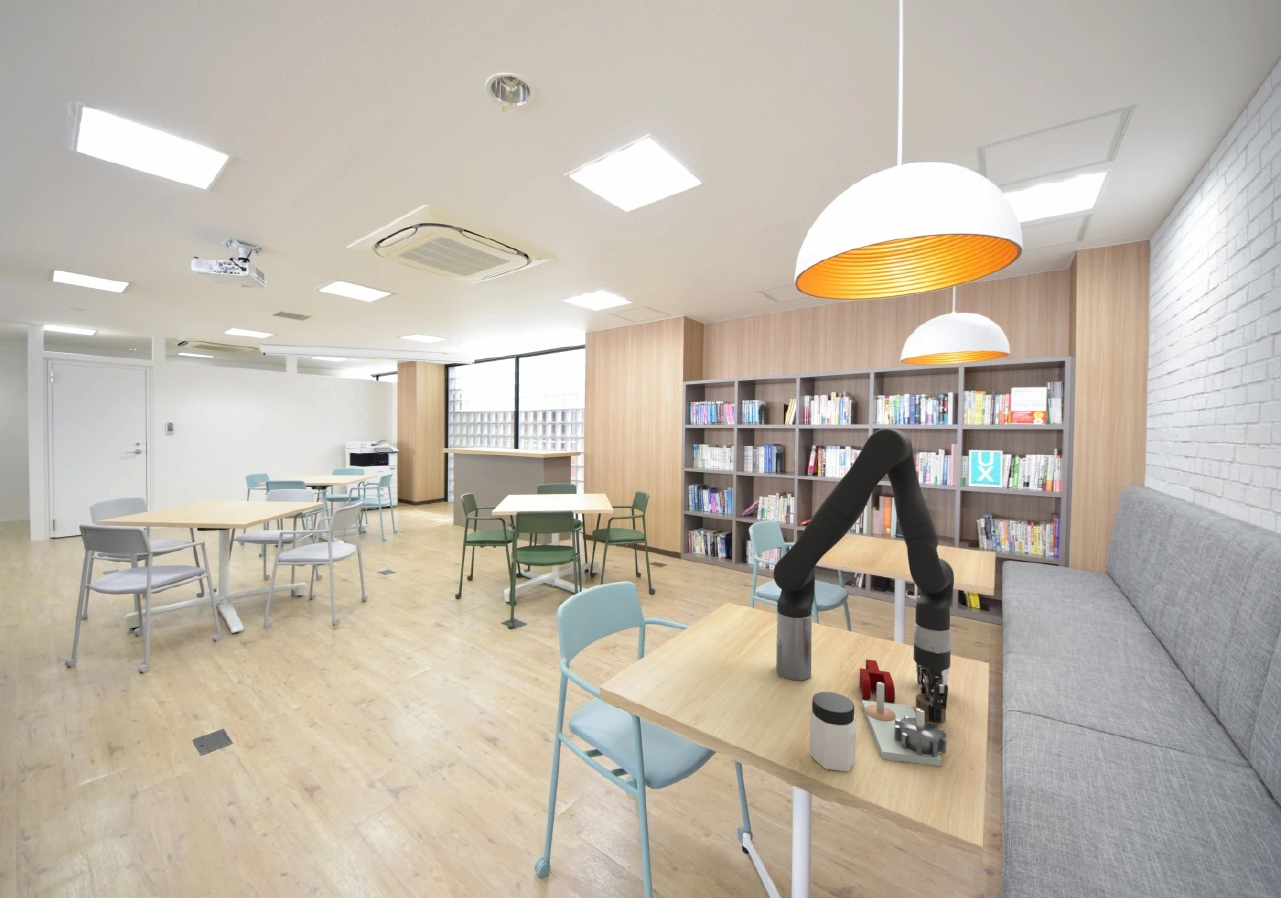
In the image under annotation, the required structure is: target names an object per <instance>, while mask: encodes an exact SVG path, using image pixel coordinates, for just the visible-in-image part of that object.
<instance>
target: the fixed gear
mask: <svg viewBox="0 0 1281 898" xmlns="http://www.w3.org/2000/svg"><path fill="white" fill-rule="evenodd" d="M915 714H916V718H910V717H908V716H904V719H901V720H900V719H897V718H896V719H895V725H894V738H895V740H899V741H900V742H901V743H902V746H901V747H903V748H904V749H907V748H909V749H911V750H913V751H915V752H916V754H918V755H921V756H922V754H929V755H932V756H933V757H937V754H939V753H941V754H943V755H945V754H946V753H947V731H946V730H944V729H943V730H941V729H940V728H939V725H938V723H930V721H929V722H928V721H925V720H924V718H925V711H924V710H923V709H921V708H916V707H915Z"/></svg>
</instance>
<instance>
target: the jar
mask: <svg viewBox="0 0 1281 898" xmlns="http://www.w3.org/2000/svg"><path fill="white" fill-rule="evenodd" d="M811 707H812V709H811V711H810V714H809V715H810V718H809V719H810V720H809V723H810V724H809V725H810V727H809V734H810V735H809V740H810V741H809V755H811V756H812V757H813V760H815V762H817V763H818V764H819V765H820V766H821V767H822V768H823V769H824V768H825V769H824V770H829V769H830V770H832V771H838V770H839V771H838V772H840V771H841V772H849V771H850V769H851V768H852V767H853V764H854V763H855V761H857V760H856V757H857V755H856V754H857V752H856V748H857V747H856V746H857V744H856V743H857V741H856V740H857V739H856V738H857V716H856V714H855V704H854V702H853V701H852V700H851V699H850V698H849V697H847V696H845V695H843V694H841V693H837V692H833V691H832V692H831V691H821V692H817V693H815V694H814V695H813V696H812V701H811ZM811 756H810V757H811ZM812 757H811V758H812ZM830 770H829V771H830Z"/></svg>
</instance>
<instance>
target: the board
mask: <svg viewBox="0 0 1281 898" xmlns="http://www.w3.org/2000/svg"><path fill="white" fill-rule="evenodd" d="M861 707H862V710H863V713H864V715H865V718H866V721H867V723H868V725H869V728H870V732H871V733H872V734H871V735H872V736H873V738H874V741H875V743H876V746H877V749H878V751H879V755H880V756H881V757H880V758H881V759H882V760H889V761H896V762H898V761H899V762H903V763H905V762H906V763H912V764H919V765H920V764H921V765H927V766H934V767H936V766H937V767H942V758H941V756H940V754H939V753H938V754H937V757H933V756H932V755H929V754H922V756H921V755H918V754H916V752H915V751H913V750H911V749H909V748H907V749H904V748H903V747H901V746H902V743H901V742H900V741H899V740H895V738H894V725H895V719H896V718H897V719H900V720H901V719H904V716H908V717H910V718H916V711H915V710H914V708H913V707H912V705H909V704H900V703H890V702H885V698H884V683H881V682H877V691H876V701H872V700H861Z"/></svg>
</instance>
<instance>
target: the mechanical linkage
mask: <svg viewBox="0 0 1281 898" xmlns="http://www.w3.org/2000/svg"><path fill="white" fill-rule="evenodd" d="M877 682H881V683H884V702H885V703H892V704H895V701H896V690H895V684H894V680H893V678H892V675H891V672H890V671H886V670H885V671H884V670H880V668H879V665H878V663H877V660H875V659H865V668H863V667H861V668H859V690H860V694H861V698H862V699H866V700H871V699H872V692H877Z"/></svg>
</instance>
